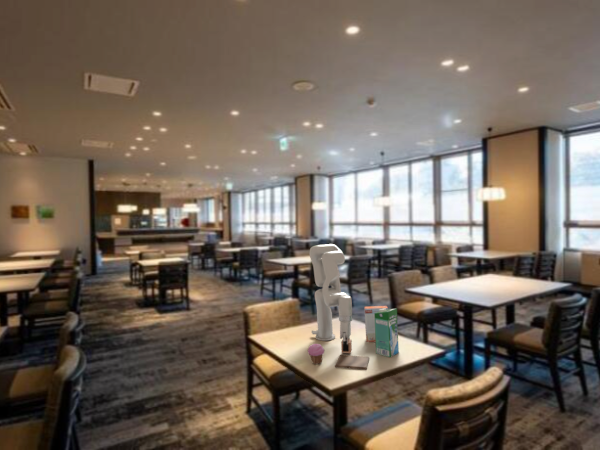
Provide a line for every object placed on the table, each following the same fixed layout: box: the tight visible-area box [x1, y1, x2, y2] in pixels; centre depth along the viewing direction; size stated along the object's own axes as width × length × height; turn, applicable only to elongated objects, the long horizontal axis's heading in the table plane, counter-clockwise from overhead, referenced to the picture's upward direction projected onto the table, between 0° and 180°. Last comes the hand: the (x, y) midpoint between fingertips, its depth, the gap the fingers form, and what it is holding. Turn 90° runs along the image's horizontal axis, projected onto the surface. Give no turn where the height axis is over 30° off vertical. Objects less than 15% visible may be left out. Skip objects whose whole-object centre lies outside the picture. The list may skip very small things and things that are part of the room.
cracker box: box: [363, 305, 389, 343], centre depth 222 cm, size 14×6×21 cm, turn 84°
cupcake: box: [307, 343, 325, 365], centre depth 192 cm, size 9×9×10 cm
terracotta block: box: [340, 338, 353, 354], centre depth 204 cm, size 5×5×6 cm
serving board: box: [334, 354, 370, 370], centre depth 189 cm, size 16×14×1 cm
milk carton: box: [374, 308, 400, 358], centre depth 201 cm, size 9×9×25 cm
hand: (346, 348), depth 204 cm, fingers closed on terracotta block, 5 cm apart
